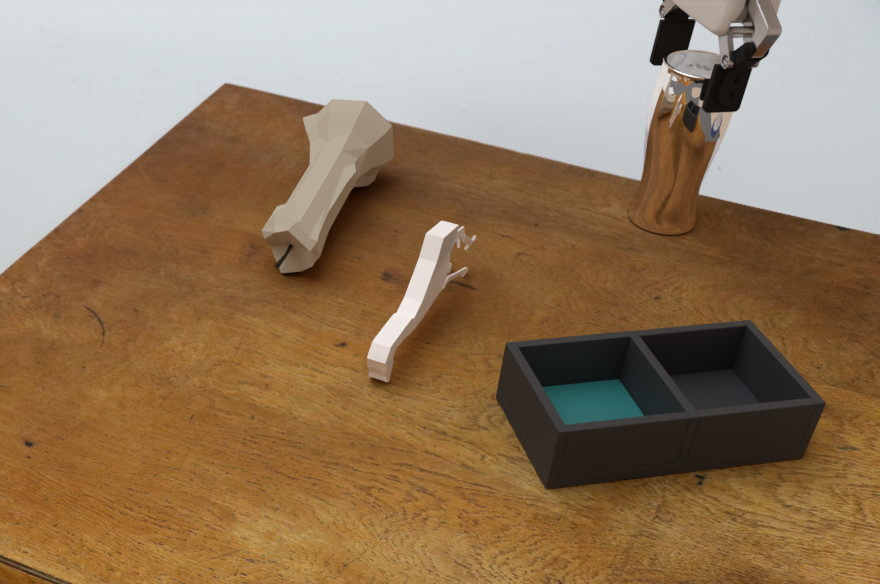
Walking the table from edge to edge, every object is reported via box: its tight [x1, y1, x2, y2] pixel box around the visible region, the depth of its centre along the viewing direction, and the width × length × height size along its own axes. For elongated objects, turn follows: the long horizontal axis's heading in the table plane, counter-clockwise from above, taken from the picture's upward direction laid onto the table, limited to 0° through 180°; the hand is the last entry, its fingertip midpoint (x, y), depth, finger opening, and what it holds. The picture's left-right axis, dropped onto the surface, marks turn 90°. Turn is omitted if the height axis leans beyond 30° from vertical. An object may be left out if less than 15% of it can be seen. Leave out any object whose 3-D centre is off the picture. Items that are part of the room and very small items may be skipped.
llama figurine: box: [366, 220, 477, 383], centre depth 87 cm, size 2×11×18 cm
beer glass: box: [627, 49, 734, 236], centre depth 99 cm, size 7×7×15 cm
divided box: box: [495, 319, 827, 490], centre depth 78 cm, size 19×10×5 cm, turn 102°
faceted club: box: [261, 98, 395, 274], centre depth 98 cm, size 9×8×25 cm
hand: (691, 86), depth 96 cm, fingers open, 9 cm apart
